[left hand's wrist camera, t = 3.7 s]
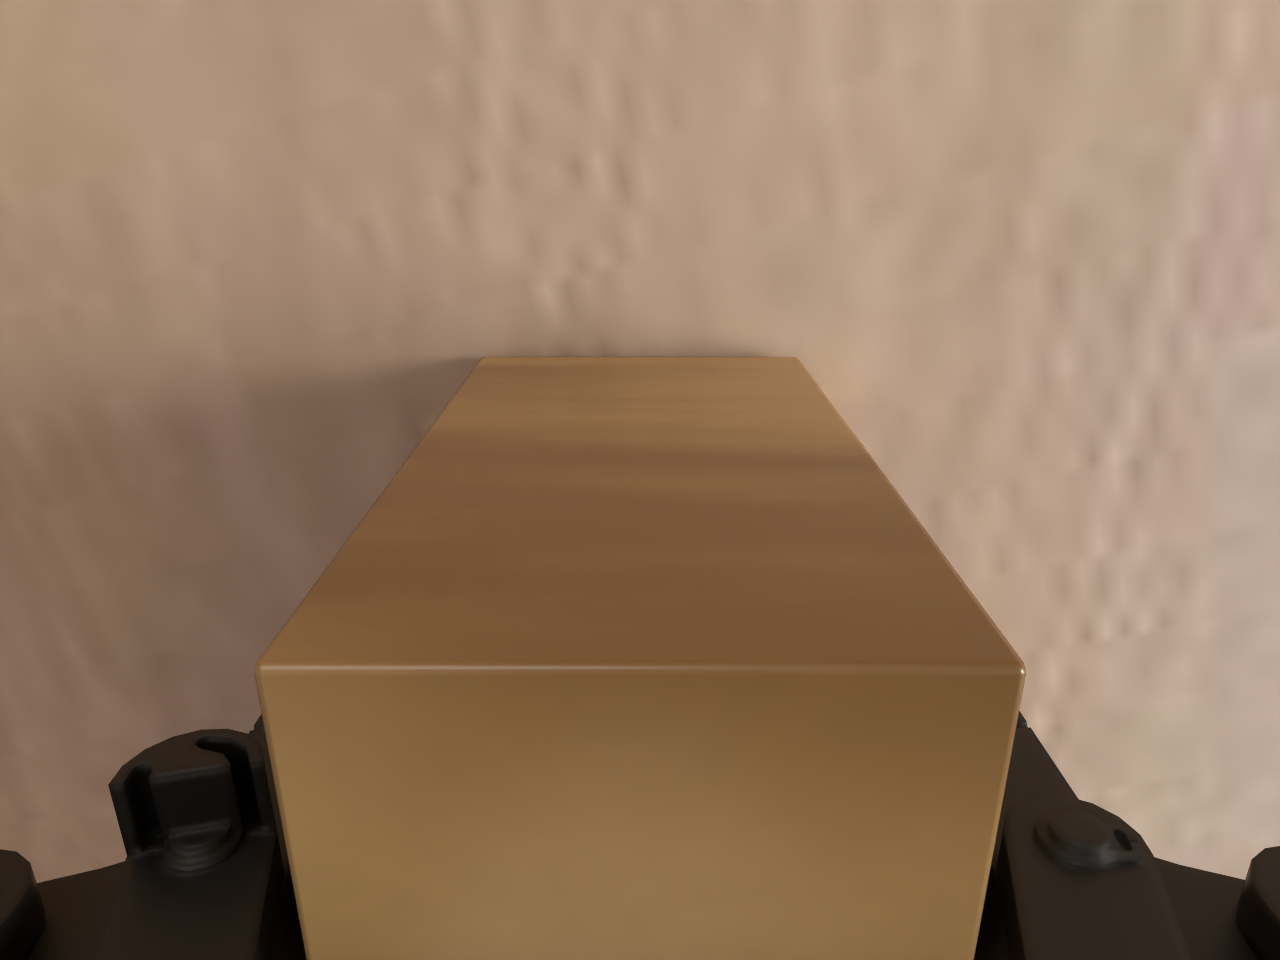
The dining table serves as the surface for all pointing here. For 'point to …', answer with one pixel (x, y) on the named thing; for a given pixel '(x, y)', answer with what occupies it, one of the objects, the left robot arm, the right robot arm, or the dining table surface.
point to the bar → (640, 687)
